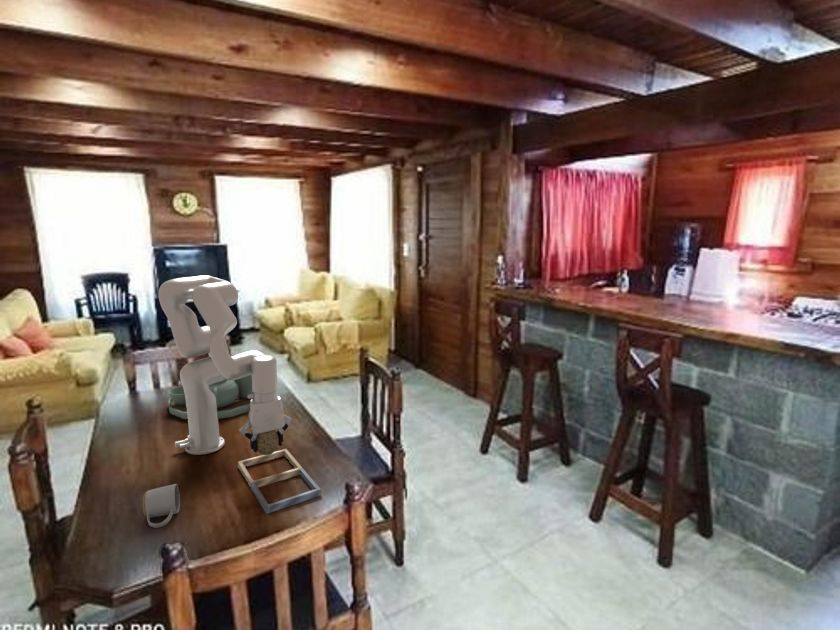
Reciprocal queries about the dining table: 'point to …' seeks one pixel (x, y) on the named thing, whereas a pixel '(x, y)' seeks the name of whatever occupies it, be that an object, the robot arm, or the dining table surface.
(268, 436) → the decorative egg
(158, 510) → the ceramic mug
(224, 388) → the tea set
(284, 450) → the frame
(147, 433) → the dining table surface
